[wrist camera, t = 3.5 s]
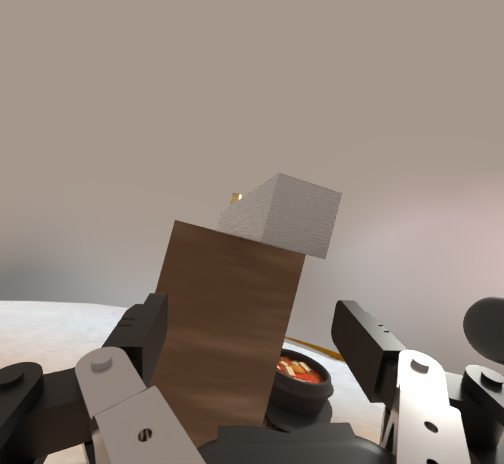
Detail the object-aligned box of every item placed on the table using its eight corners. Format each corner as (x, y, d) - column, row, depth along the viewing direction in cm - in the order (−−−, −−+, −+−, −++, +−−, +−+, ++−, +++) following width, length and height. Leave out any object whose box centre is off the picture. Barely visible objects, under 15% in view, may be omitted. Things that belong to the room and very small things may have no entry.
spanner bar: (215, 230, 41) (225, 193, 41) (235, 235, 41) (244, 198, 42) (260, 242, 11) (295, 108, 12) (325, 259, 12) (357, 132, 12)
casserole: (352, 461, 44) (364, 412, 44) (247, 436, 43) (259, 387, 43) (311, 379, 69) (319, 349, 69) (244, 363, 68) (252, 332, 68)
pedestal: (121, 450, 35) (183, 222, 36) (214, 457, 37) (270, 245, 38) (76, 580, 22) (175, 219, 23) (223, 577, 25) (305, 254, 26)
